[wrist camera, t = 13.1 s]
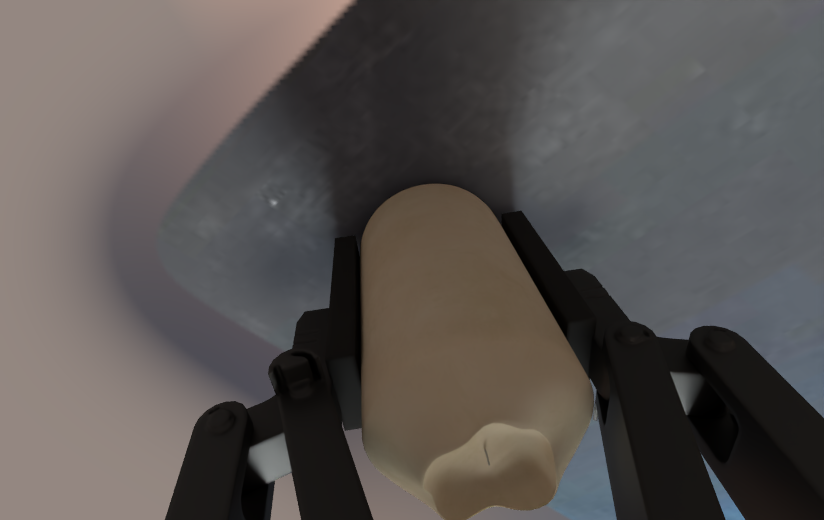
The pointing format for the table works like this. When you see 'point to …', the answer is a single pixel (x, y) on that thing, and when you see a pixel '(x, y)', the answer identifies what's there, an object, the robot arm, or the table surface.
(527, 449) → the candle
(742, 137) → the table surface
